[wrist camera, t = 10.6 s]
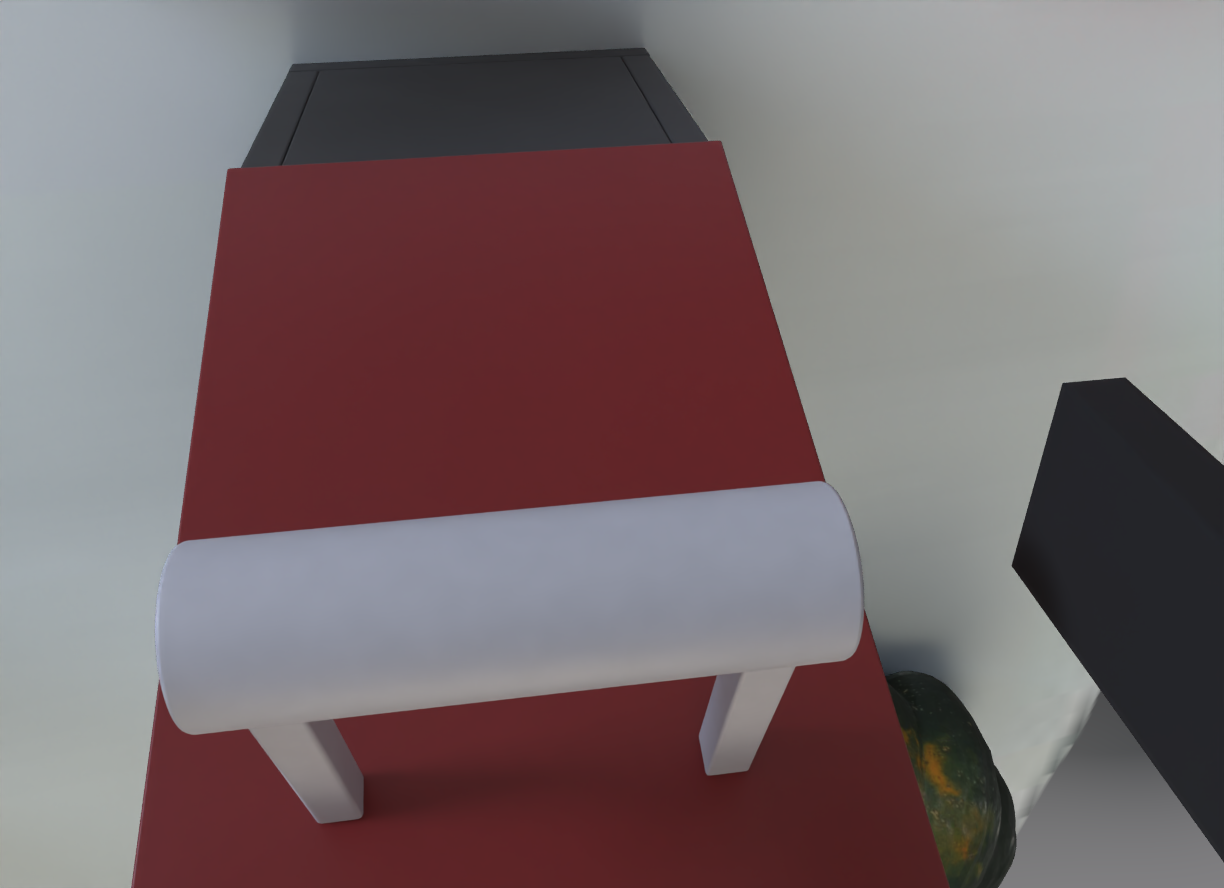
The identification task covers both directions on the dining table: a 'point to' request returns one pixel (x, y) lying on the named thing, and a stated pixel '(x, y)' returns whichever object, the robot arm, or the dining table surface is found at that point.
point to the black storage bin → (470, 107)
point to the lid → (512, 551)
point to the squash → (956, 781)
